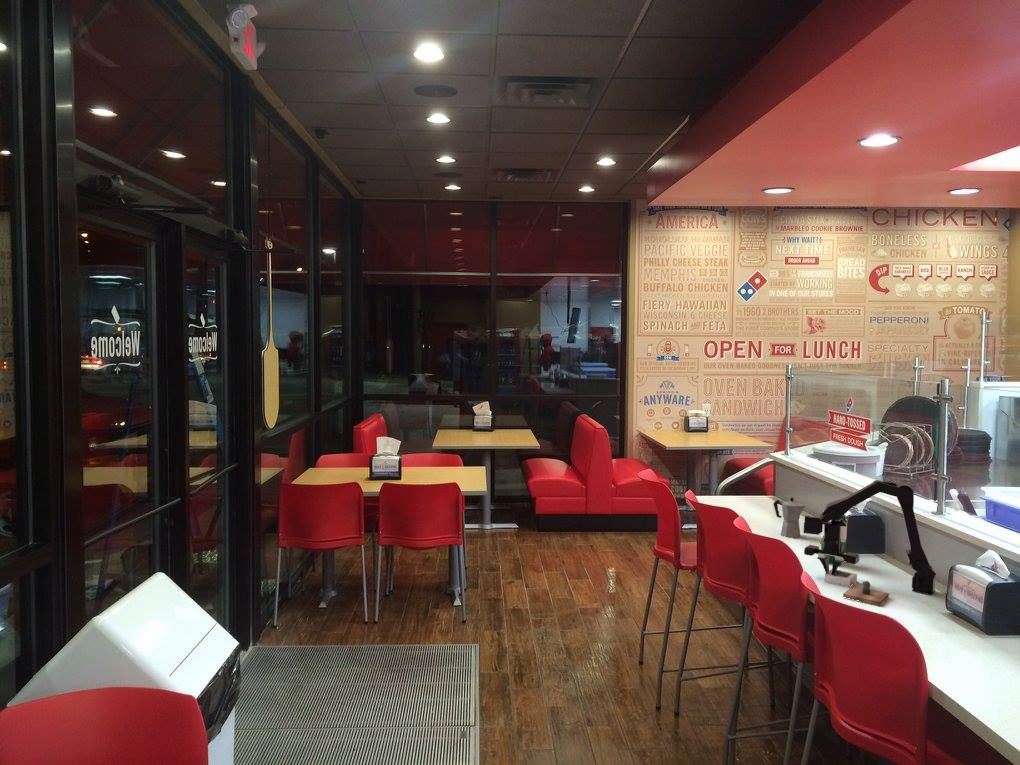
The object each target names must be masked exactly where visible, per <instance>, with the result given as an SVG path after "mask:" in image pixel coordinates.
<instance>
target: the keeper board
mask: <svg viewBox="0 0 1020 765" xmlns="http://www.w3.org/2000/svg"><path fill="white" fill-rule="evenodd" d="M843 597H846V598H850V599H854V600H859V601H861V602H860V603H863V602H865V603H864V604H867V603H868V605H872V604H873V605H872V606H877V607H881V606H882V605H883V604H884V603H885V602H886V601H887V600H888V599H887V598H888V597H890V593H889V592H884V591H880V590H875V589H871V582H869V580H864V581H863V582H862V586H859V585H852V586H851V587H848V589H847V590H845V591H844V592H843V595H842V598H843ZM846 598H845V599H846ZM850 599H849V600H850ZM886 599H887V600H886ZM854 600H853V601H854ZM885 600H886V601H885ZM859 601H858V602H859ZM884 601H885V602H884ZM883 602H884V603H883ZM882 603H883V604H882ZM881 604H882V605H881ZM880 605H881V606H880Z"/></svg>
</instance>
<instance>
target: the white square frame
mask: <svg viewBox="0 0 1020 765" xmlns="http://www.w3.org/2000/svg"><path fill="white" fill-rule="evenodd" d="M856 581H858V573H855V572H851V571H850V572H849V571H847V570H841V569H837V571H836V573H835V575H832V568H831V569H829V571H828V572H827V573H826V572H825V574H824V583H828V584H832V585H836V584H837V585H838V586H841V585H843V586H842V587H845V586H849V587H848V588H851V587H852V586H853V585H854V583H855V582H856ZM856 583H857V582H856ZM856 583H855V584H856ZM852 584H853V585H852ZM851 585H852V586H851ZM850 586H851V587H850Z"/></svg>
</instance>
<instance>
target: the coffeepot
mask: <svg viewBox="0 0 1020 765" xmlns="http://www.w3.org/2000/svg"><path fill="white" fill-rule="evenodd" d="M789 498H790V499H789V501H785V500H780V499H777V500H775V501H774V502H773V507H774V511H775V515H776V517H777V518H779V519H781V518H783V521H782V525H781V530H780V531H781V532H780V536H782V537H784V536H785V537H784V538H790V539H799V538H801V528H800V518H801V513H802V512H803V511H804V509H806V508H807V506H806V505H803V504H802V503H799V502H796V501H794V499H795V498H794V497H789ZM778 505H780V506H781V509H782V515H780V511H779V506H778Z"/></svg>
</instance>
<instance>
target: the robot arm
mask: <svg viewBox="0 0 1020 765" xmlns="http://www.w3.org/2000/svg"><path fill="white" fill-rule="evenodd" d="M880 493H882V494H886V495H889V496H891V497H896V499H897V501H898V504H899V505H900V508H901V509H900V510H901V511H902V512H901V513H902V517H903V522H904V525H905V526H904V527H905V530H906V536H907V540H908V544H909V545H908V549H905V550H904V551H905V554H906V557H907V558H906V561H907V563H908V565H909V566H911V567H912V569H913V570H914V571H915V572H914V573H913V574H914V575H912V577H911V578H912V579H911V580H912V581H911V588H912V590H911V591H912V592H914V593H915V592H916V593H920V594H924V595H929V596H933V595H934V594H935V592H936V589H935V586H936V574H937V572H935V569H934V568H933V567H932V566H931V565H930V563H929V560H928V558H927V556H926V553H925V551H924V549H923V547H922V543H921V538H920V533H919V530H918V525H917V519H916V514H915V511H914V510H915V509H914V503H915V498H914V497H915V494H914V490H913V489H912V487H911V486H910V484H908V483H906V482H898V483H896V482H891V481H883V480H880V479H876V480H873V481H872V482H871V483H870V484H868V485H865V486H863V487H862V488H861V489H859V490H857V491H854V492H853V493H852V494H849V495H848V496H845V497H844V498H840V499H836V500H834V501H831V502H830V501H829V502H828V503H827V504H826V505H825V507H824V511H823V512H822V513H821V514H820V515H819V516H811V515H804V522H803V534H807V535H816V536H817V535H818V536H820V534H822V530H823V524H825V526H824V539H823V542H824V549H823V550H821V548H820V547H819V545H813V544H809V545H808V546H806V547H804V549H803V551H804V552H803V554H804V555H806V556H814V555H815V554H816V555H817V556H816V557H817V558H816V559H817V560H819V561H820V563H821V565H822V567H823V569H824V572H825V574H826V573H827V572H828V571H830V564H829V558H830V556H831V557H835V560H834V561H833V564H832V567H831V569H832V575H835V573H836V571H837V570H838V568H839V567H840V566H841V565H842V564H841V563H843V562H844V561H845V562H844V563H846V564H851V565H856V564H858V563H859V562H860V555H859V553H854V552H850V551H848V552H847V553H846V554H841V553H840V552H843V551H844V543H841V538H840V536H841V526H846V523H845V522H844V521H843V519H840V520H839V521H838V519H839V518H841V517H842V516H843V515H846V514H847V513H848V512H849V510H850V509H852V508H854V507H855V506H858V505H859V504H861V503H862V502H864V501H867V500H868V499H870V498H871V497H873V496H875V495H877V494H880ZM830 520H831V522H828V521H830ZM827 553H829V554H827ZM833 554H834V555H833ZM844 563H843V564H844ZM840 564H841V565H840ZM839 565H840V566H839Z"/></svg>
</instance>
